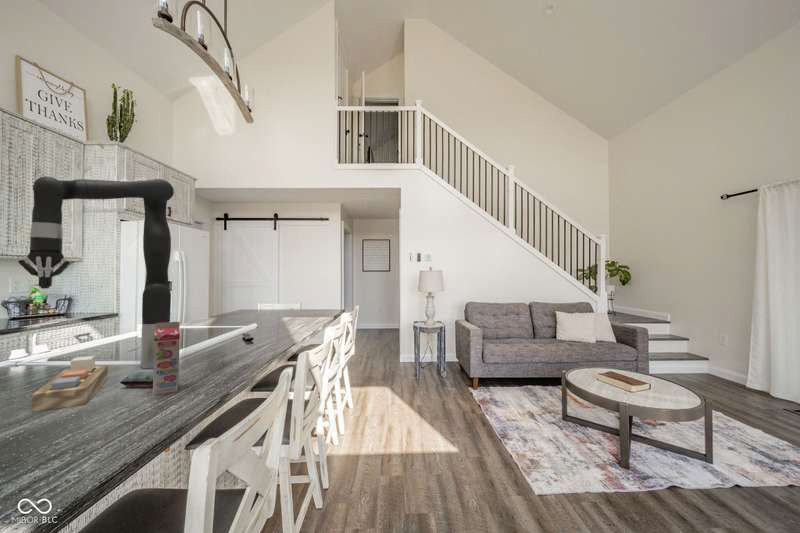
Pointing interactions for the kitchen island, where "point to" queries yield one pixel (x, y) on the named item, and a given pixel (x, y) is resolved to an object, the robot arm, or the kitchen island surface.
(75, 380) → the slate key
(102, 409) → the kitchen island surface
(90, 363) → the white square block
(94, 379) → the light brown rectangular frame
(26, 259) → the robot arm
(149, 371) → the packaged food
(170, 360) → the juice carton
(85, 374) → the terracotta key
